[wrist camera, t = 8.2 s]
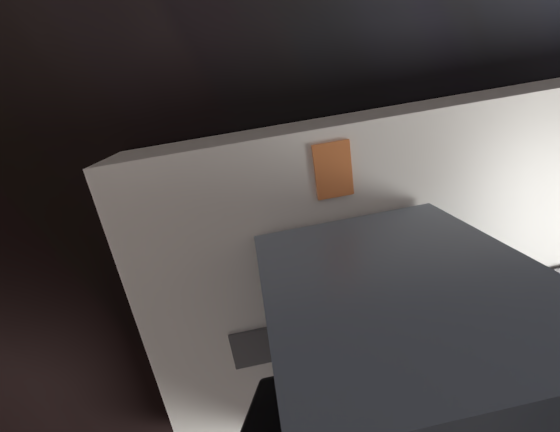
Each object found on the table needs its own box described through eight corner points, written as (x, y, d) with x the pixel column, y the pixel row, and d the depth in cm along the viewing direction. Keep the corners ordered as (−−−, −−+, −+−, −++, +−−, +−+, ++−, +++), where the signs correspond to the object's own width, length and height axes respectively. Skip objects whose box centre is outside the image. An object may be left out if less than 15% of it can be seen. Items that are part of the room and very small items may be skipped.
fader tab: (431, 403, 10) (610, 681, 5) (292, 435, 10) (348, 760, 5) (429, 203, 8) (721, 359, 3) (253, 236, 8) (286, 460, 3)
